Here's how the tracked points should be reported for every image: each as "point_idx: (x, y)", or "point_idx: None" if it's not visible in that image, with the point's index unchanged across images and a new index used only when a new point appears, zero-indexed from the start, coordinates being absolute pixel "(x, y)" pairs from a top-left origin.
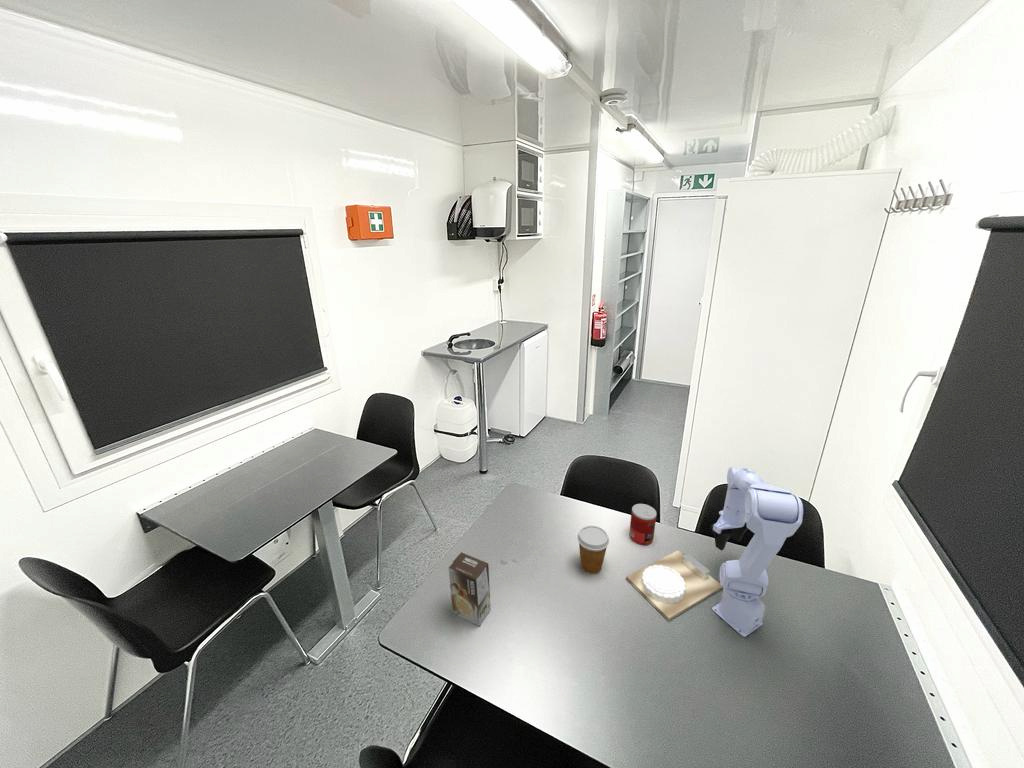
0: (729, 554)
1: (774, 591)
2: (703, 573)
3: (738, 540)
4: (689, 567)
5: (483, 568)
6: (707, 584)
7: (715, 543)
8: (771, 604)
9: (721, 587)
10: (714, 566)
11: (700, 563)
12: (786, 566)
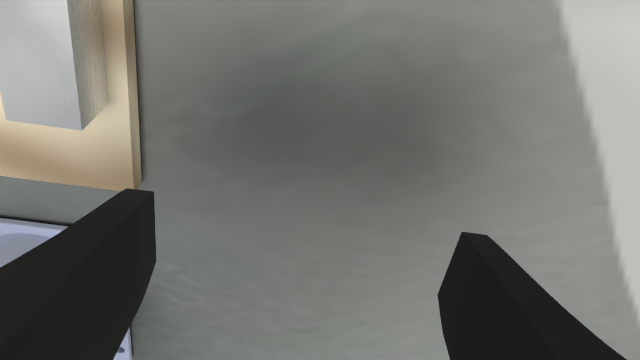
0: (506, 61)
1: (376, 327)
2: (5, 109)
3: (441, 309)
4: None
5: None
6: (41, 130)
7: (98, 209)
8: (279, 343)
9: (122, 187)
10: (282, 52)
11: (68, 32)
12: (626, 306)
